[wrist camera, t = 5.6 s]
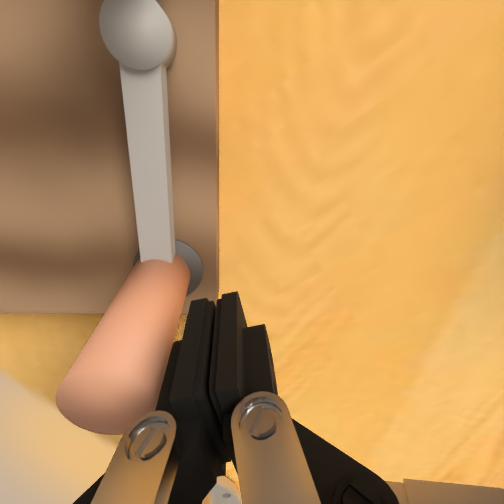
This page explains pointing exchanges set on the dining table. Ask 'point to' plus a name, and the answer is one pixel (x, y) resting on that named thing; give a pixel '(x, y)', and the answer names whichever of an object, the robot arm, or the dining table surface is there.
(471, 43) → the dining table surface
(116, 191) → the wooden peg board
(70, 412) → the crank handle
